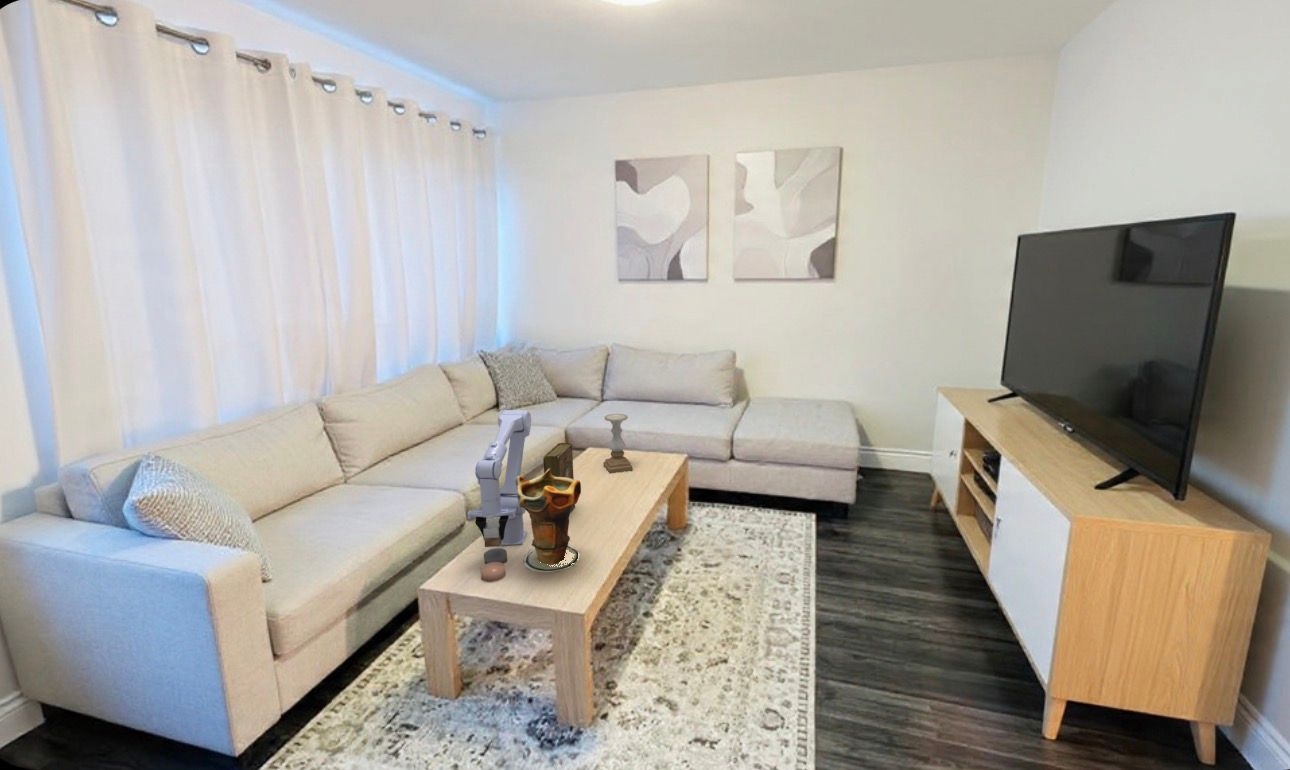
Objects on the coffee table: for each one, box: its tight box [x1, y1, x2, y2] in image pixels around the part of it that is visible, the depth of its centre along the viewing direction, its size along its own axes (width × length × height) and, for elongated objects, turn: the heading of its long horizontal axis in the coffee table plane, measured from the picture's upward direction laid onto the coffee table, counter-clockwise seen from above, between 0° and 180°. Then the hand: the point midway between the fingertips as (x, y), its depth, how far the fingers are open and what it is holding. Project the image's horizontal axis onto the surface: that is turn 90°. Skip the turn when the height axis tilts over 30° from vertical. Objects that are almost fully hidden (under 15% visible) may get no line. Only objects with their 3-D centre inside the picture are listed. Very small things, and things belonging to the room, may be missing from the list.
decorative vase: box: [515, 468, 582, 574], centre depth 187 cm, size 21×23×28 cm
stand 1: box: [483, 547, 508, 565], centre depth 188 cm, size 7×7×2 cm
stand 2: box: [480, 562, 507, 583], centre depth 179 cm, size 7×7×2 cm
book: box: [543, 442, 576, 513], centre depth 219 cm, size 16×6×25 cm, turn 168°
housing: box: [483, 518, 502, 548], centre depth 186 cm, size 4×6×6 cm
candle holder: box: [603, 413, 633, 474], centre depth 267 cm, size 11×11×24 cm
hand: (494, 538), depth 187 cm, fingers closed on housing, 4 cm apart
